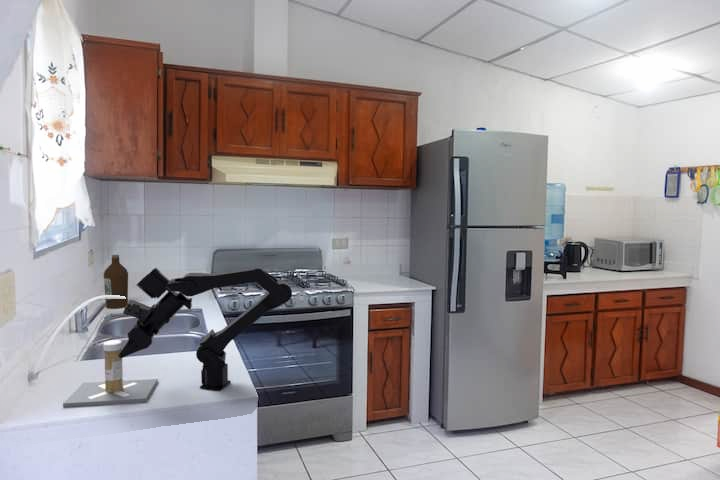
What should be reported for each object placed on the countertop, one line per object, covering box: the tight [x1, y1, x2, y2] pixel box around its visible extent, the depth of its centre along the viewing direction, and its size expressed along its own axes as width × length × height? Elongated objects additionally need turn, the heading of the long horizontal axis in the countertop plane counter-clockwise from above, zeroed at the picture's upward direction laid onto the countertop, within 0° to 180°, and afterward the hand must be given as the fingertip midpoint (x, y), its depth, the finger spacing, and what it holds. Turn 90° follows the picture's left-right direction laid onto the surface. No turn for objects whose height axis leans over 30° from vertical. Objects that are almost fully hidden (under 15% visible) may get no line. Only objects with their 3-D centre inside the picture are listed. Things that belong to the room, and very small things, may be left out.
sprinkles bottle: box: [103, 339, 124, 392], centre depth 134 cm, size 5×5×13 cm
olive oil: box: [103, 254, 129, 310], centre depth 236 cm, size 11×11×25 cm
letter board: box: [62, 378, 159, 408], centre depth 134 cm, size 20×14×1 cm
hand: (123, 351), depth 134 cm, fingers open, 9 cm apart
